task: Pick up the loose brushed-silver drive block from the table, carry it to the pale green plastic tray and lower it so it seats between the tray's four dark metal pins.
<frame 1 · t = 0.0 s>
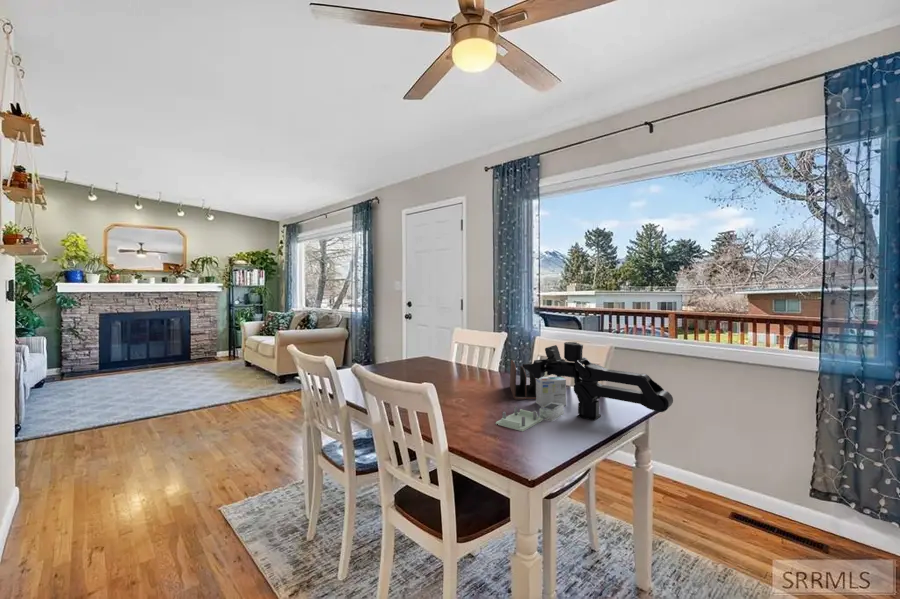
hand: (528, 363, 170), 17 cm above the table, tool horizontal, fingers open, 9 cm apart
letter holder: (522, 393, 187), on the table
light bulb box: (550, 404, 170), on the table
tray: (519, 422, 150), on the table
drive: (551, 416, 156), on the table
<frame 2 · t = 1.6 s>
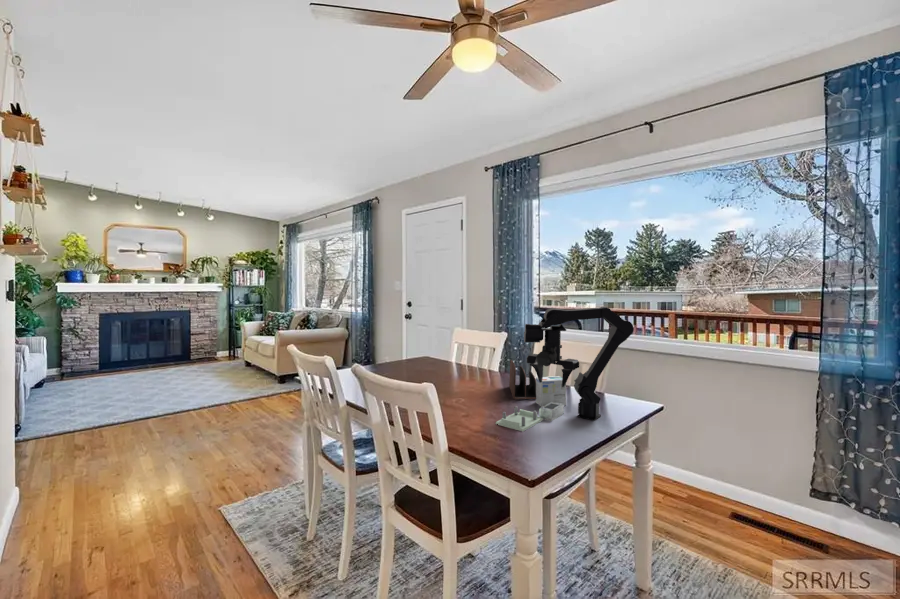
hand: (551, 384, 155), 12 cm above the table, tool pointing down, fingers open, 9 cm apart
nothing on the table moved.
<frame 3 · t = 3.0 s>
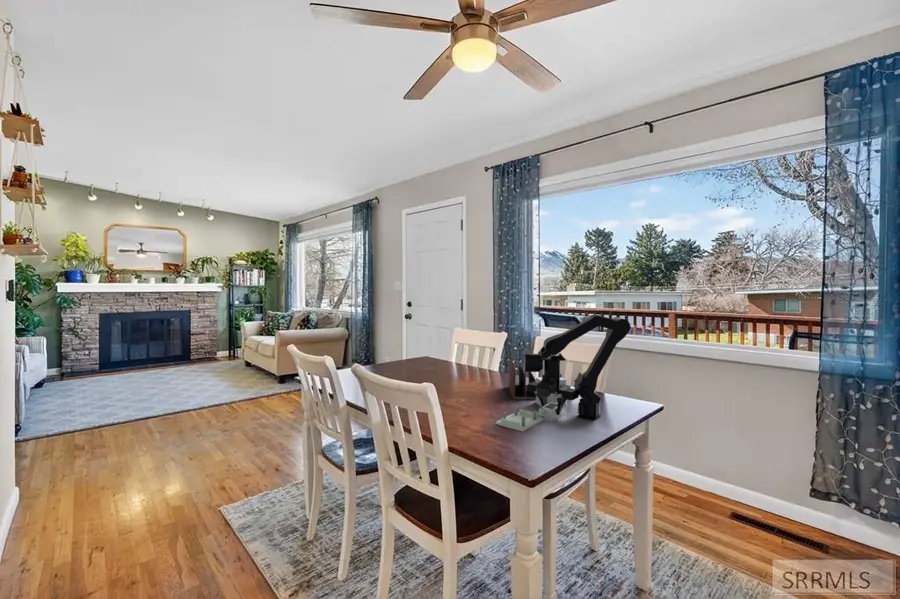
hand: (551, 413, 156), 1 cm above the table, tool pointing down, fingers closed on drive, 5 cm apart
drive: (551, 416, 156), on the table, touching gripper
everything else where it was.
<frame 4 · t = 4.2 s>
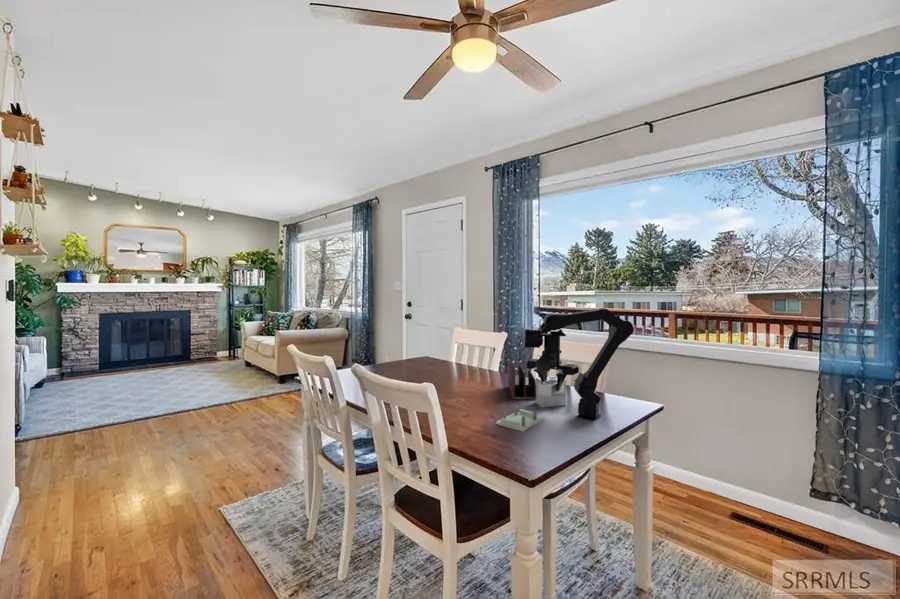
hand: (551, 389, 155), 10 cm above the table, tool pointing down, fingers closed on drive, 5 cm apart
drive: (551, 392, 155), point 9 cm above the table, touching gripper
everything else where it was.
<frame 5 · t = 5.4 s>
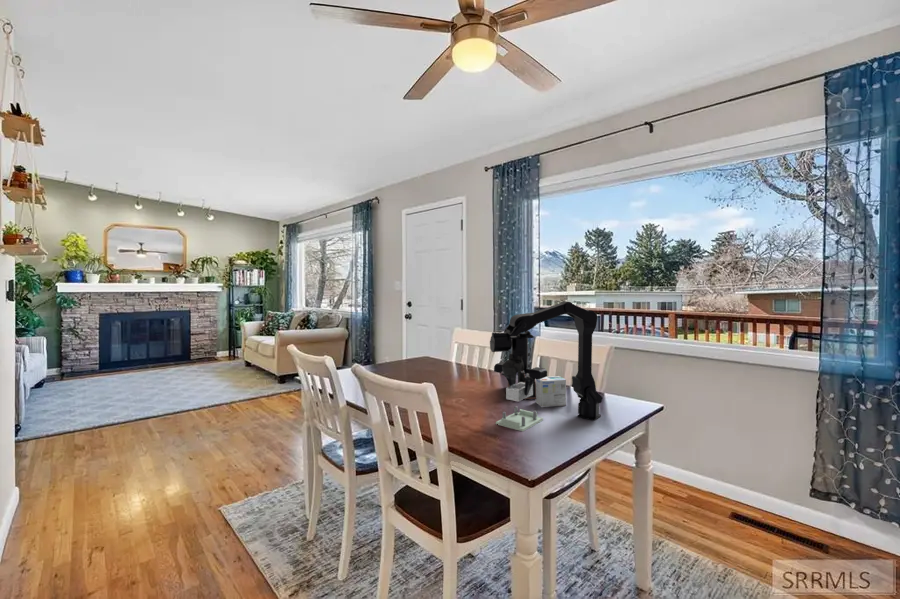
hand: (519, 394, 149), 10 cm above the table, tool pointing down, fingers closed on drive, 5 cm apart
drive: (519, 397, 149), point 9 cm above the table, touching gripper
everything else where it was.
when the fingers open (4 cm above the table, at t = 6.8 s): drive drops 2 cm, resting on tray.
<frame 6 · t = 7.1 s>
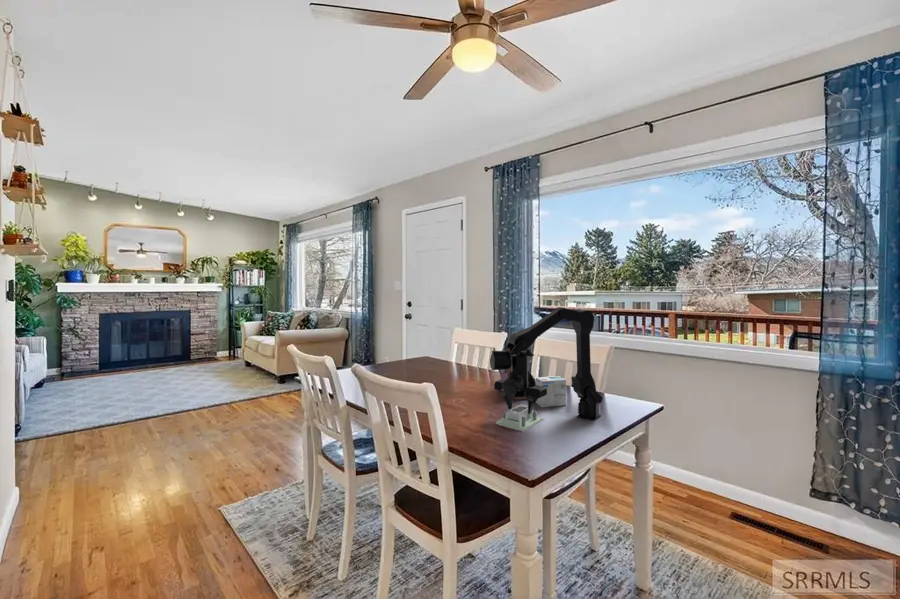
hand: (519, 411, 150), 4 cm above the table, tool pointing down, fingers open, 8 cm apart
drive: (519, 420, 150), point 1 cm above the table, touching tray
everything else where it was.
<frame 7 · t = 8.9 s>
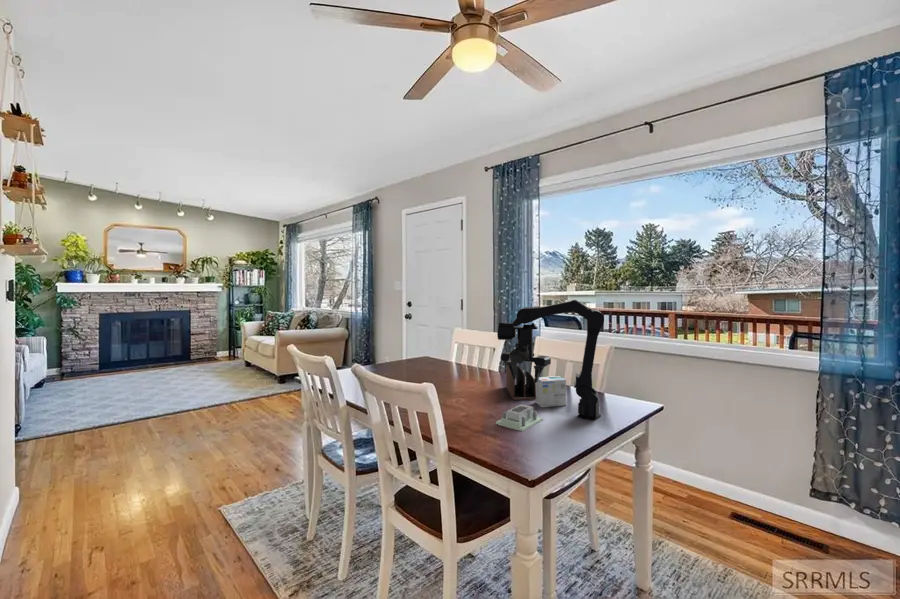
hand: (525, 380, 161), 12 cm above the table, tool pointing down, fingers open, 9 cm apart
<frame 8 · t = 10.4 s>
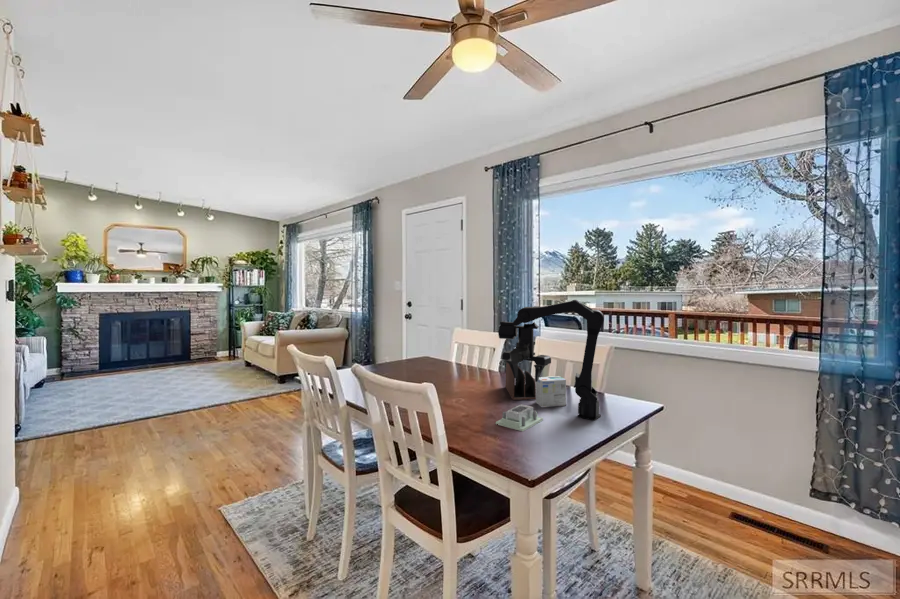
hand: (525, 379, 162), 12 cm above the table, tool pointing down, fingers open, 9 cm apart
at the end: drive 0.1 cm off-centre on the tray, point 0.8 cm above the tray's base; drive tilted 0°; the gripper is holding nothing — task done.
